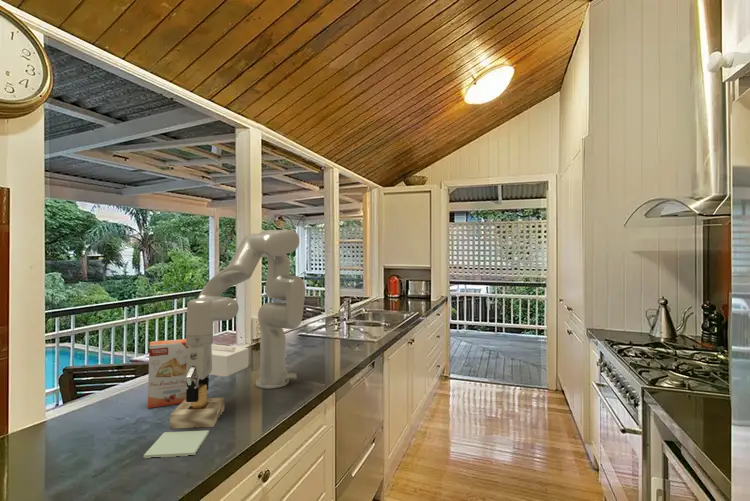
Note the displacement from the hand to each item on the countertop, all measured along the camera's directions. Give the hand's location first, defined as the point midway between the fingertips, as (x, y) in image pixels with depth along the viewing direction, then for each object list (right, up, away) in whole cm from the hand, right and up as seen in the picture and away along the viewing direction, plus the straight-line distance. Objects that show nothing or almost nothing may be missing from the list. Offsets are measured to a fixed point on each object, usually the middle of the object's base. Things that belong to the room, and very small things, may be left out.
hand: (197, 395), depth 116 cm
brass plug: (0, -7, 0) cm, 7 cm away
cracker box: (-15, -7, +13) cm, 21 cm away
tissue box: (-17, -8, +51) cm, 54 cm away
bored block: (0, -7, 0) cm, 7 cm away
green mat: (+2, -7, -15) cm, 17 cm away
